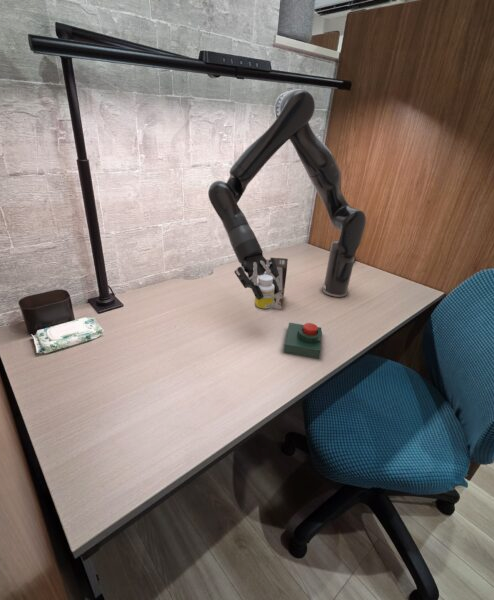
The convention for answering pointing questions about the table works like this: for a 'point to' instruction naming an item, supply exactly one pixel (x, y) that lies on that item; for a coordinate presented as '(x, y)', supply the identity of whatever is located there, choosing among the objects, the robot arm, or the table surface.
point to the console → (302, 342)
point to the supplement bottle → (265, 293)
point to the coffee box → (280, 282)
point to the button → (310, 329)
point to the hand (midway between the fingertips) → (268, 295)
